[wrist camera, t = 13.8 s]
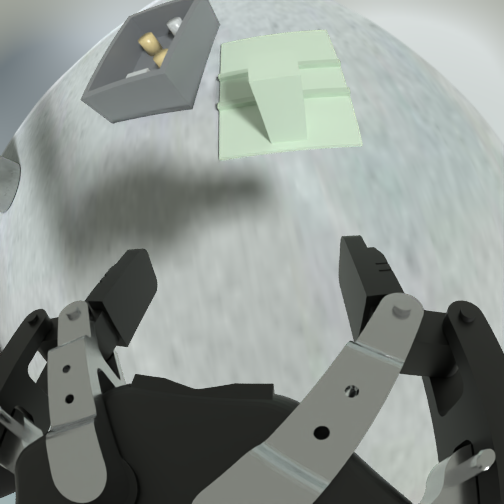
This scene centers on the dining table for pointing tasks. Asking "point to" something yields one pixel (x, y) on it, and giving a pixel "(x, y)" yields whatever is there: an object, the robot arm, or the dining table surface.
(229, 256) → the dining table surface
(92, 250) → the dining table surface
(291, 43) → the lid
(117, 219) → the dining table surface
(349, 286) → the robot arm
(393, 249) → the dining table surface
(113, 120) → the tub
